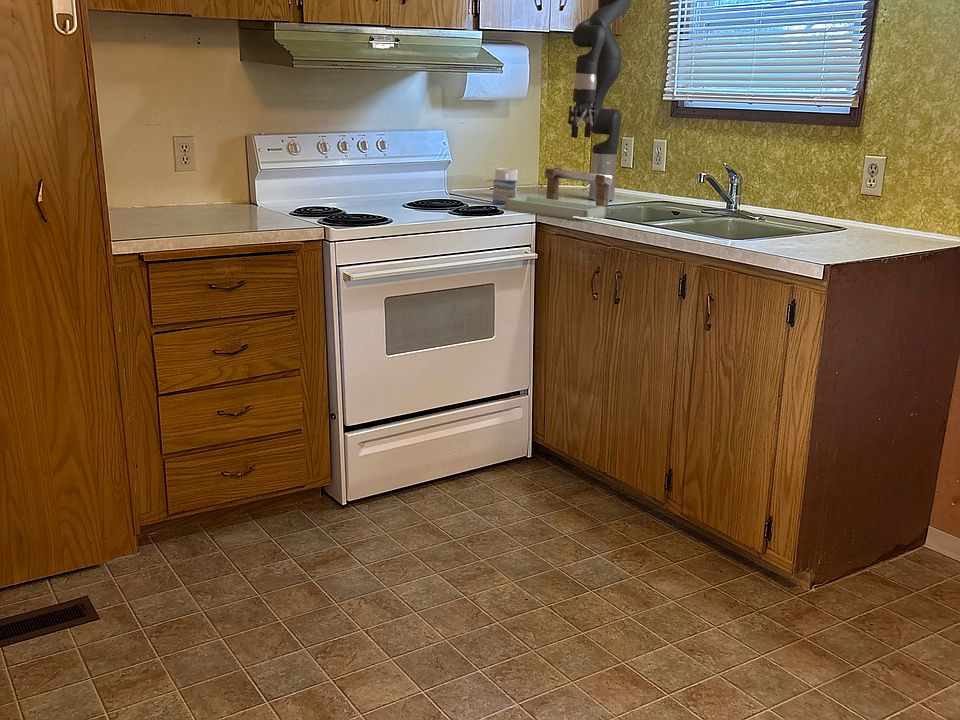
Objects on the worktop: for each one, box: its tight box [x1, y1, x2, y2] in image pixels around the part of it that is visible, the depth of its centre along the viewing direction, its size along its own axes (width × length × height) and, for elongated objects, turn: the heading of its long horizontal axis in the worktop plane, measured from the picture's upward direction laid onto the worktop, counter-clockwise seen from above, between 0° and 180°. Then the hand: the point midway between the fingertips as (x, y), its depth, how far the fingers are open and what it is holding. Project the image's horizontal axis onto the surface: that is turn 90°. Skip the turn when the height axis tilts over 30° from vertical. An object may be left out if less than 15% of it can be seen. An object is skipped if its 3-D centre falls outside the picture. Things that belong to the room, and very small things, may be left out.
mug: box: [494, 167, 519, 195], centre depth 343 cm, size 12×8×10 cm
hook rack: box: [544, 167, 612, 215], centre depth 321 cm, size 6×24×13 cm, turn 53°
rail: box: [543, 167, 614, 184], centre depth 319 cm, size 3×26×3 cm, turn 53°
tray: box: [504, 195, 607, 220], centre depth 311 cm, size 13×32×4 cm, turn 54°
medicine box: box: [491, 178, 518, 206], centre depth 326 cm, size 8×4×9 cm, turn 83°
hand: (580, 137), depth 315 cm, fingers open, 8 cm apart
